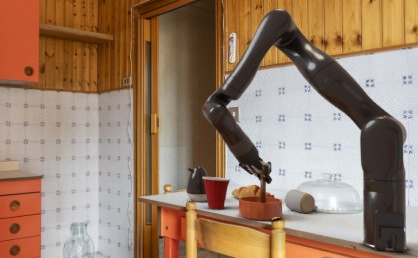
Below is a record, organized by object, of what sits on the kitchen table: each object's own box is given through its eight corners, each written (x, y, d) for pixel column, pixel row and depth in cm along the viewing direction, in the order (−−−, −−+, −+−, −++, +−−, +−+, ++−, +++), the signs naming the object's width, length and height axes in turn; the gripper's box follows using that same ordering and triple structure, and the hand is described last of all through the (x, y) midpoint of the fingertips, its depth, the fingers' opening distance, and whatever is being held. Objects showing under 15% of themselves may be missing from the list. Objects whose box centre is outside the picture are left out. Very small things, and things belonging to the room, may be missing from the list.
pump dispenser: (181, 200, 174) (181, 165, 174) (201, 198, 179) (201, 164, 179) (194, 203, 165) (194, 166, 165) (215, 201, 169) (215, 165, 169)
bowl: (283, 222, 131) (283, 204, 131) (238, 219, 135) (238, 201, 135) (280, 213, 144) (280, 197, 144) (239, 211, 148) (239, 195, 148)
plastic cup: (236, 209, 153) (236, 177, 153) (212, 211, 149) (212, 179, 149) (220, 204, 163) (220, 175, 163) (197, 206, 159) (197, 176, 159)
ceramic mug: (301, 214, 142) (301, 192, 142) (284, 210, 150) (284, 189, 150) (323, 212, 146) (323, 191, 146) (305, 208, 154) (305, 188, 154)
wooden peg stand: (271, 213, 136) (271, 171, 136) (255, 212, 137) (255, 170, 138) (270, 210, 141) (270, 169, 141) (255, 209, 142) (255, 169, 142)
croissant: (228, 205, 180) (222, 190, 178) (239, 192, 186) (234, 177, 183) (271, 211, 164) (265, 194, 161) (282, 197, 169) (277, 181, 167)
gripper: (263, 139, 130) (289, 175, 136) (232, 139, 141) (257, 172, 148) (252, 156, 127) (278, 192, 133) (221, 154, 139) (247, 187, 145)
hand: (267, 181), depth 140 cm, fingers closed on wooden peg stand
